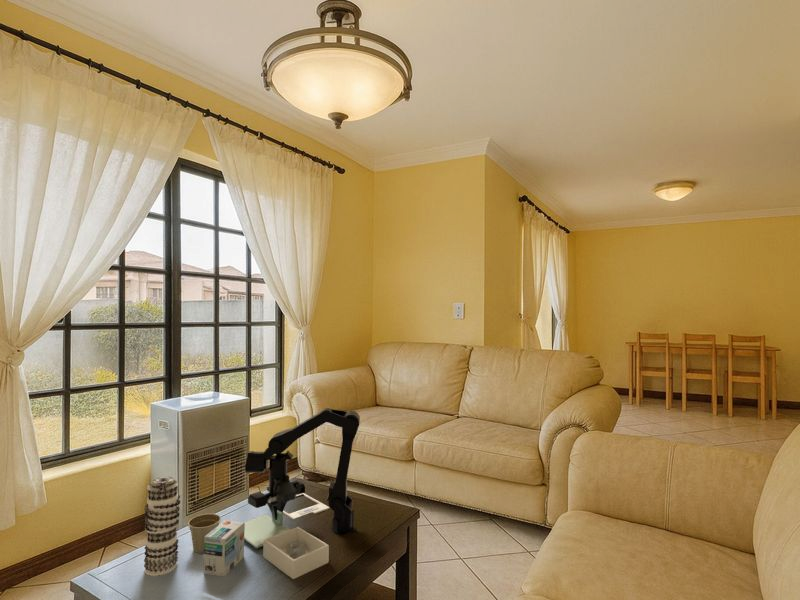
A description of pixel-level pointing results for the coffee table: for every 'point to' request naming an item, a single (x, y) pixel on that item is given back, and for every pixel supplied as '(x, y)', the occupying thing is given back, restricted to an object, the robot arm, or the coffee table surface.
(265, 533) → the lid
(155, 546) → the white patterned cylinder
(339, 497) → the robot arm
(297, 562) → the tub
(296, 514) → the photo frame
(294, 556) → the steel block
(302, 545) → the steel block
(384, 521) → the coffee table surface
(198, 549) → the flower pot
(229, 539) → the light bulb box
